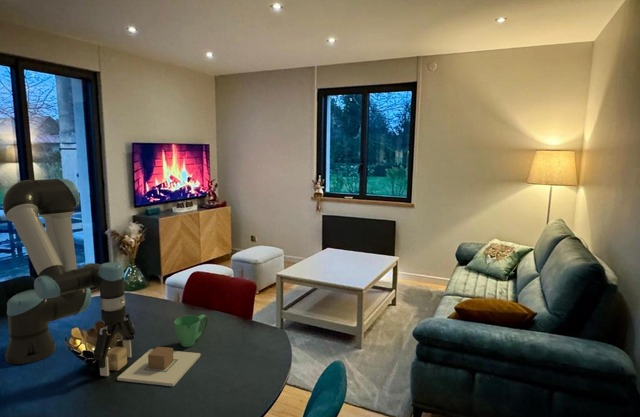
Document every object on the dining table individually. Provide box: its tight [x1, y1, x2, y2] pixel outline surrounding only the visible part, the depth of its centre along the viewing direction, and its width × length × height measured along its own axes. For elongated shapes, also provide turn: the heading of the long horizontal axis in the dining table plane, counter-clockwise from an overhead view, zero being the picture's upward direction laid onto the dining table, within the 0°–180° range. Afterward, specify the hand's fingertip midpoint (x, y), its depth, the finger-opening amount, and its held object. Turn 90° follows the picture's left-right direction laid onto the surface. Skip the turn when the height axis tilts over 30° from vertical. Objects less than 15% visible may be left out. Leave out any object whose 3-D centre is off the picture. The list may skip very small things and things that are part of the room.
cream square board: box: [116, 346, 201, 387], centre depth 140 cm, size 20×20×6 cm
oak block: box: [106, 346, 128, 371], centre depth 140 cm, size 5×5×6 cm
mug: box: [173, 314, 208, 348], centre depth 159 cm, size 15×10×10 cm
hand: (116, 365), depth 140 cm, fingers open, 12 cm apart
